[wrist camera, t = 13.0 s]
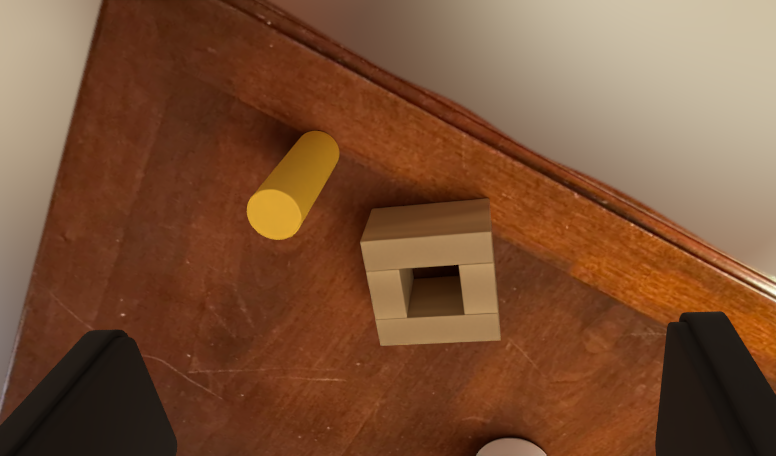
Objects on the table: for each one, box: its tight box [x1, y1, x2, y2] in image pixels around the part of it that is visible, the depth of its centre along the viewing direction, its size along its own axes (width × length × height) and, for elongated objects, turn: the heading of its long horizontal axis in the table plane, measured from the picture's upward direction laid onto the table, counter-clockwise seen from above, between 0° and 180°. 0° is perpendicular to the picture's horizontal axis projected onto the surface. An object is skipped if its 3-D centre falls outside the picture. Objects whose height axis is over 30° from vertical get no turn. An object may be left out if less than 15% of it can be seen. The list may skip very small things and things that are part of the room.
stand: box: [360, 198, 501, 346], centre depth 40 cm, size 8×8×5 cm
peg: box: [247, 131, 339, 240], centre depth 36 cm, size 3×3×10 cm
